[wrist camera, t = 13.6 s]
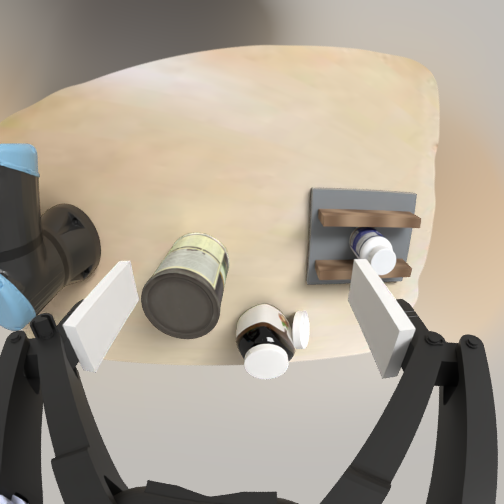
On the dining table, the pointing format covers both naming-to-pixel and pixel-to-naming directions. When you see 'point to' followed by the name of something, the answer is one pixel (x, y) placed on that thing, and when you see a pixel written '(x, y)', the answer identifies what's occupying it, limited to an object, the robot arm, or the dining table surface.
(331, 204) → the plate
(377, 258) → the pill bottle
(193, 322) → the coffee can
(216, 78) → the dining table surface
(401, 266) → the wooden rail pair
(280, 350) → the spread jar
